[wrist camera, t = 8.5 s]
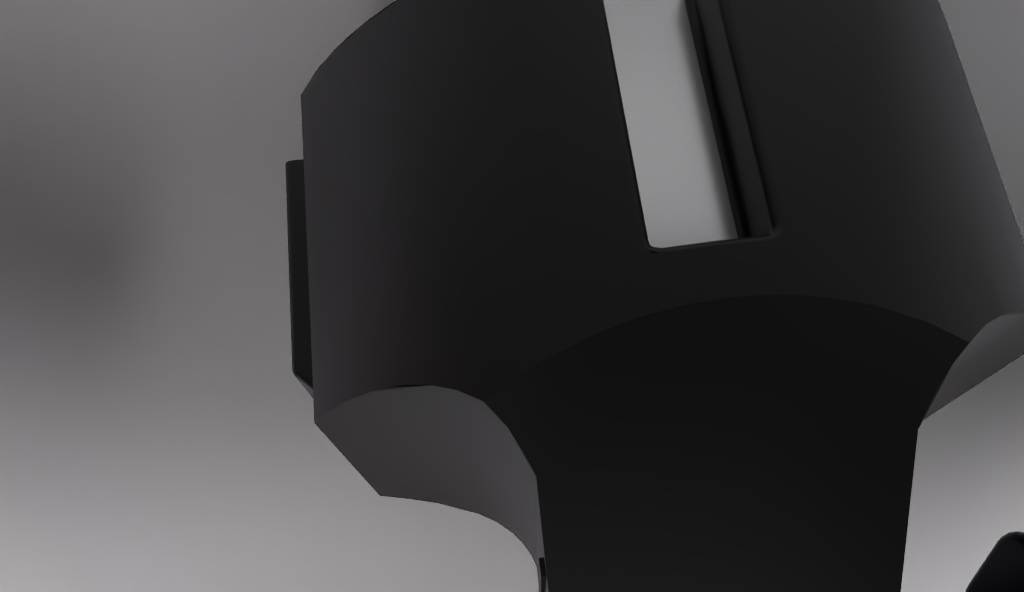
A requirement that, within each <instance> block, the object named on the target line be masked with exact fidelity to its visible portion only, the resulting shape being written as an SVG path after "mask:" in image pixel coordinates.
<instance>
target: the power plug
mask: <svg viewBox="0 0 1024 592" xmlns="http://www.w3.org/2000/svg"><path fill="white" fill-rule="evenodd" d="M301 109H302V133H303V157H304V159H302V160H293V161H288V162H286V193H287V223H288V253H289V283H290V312H291V342H292V371H293V373H294V375H295V376H296V378H297V379H298V380H299V381H300V383H301V384H302V385H303V386H304V387H305V389H306V390H307V391H308V392H309V393H310V395H311V396H312V397H313V398H314V421H315V424H316V425H317V426H318V427H319V428H320V430H321V431H322V432H323V433H324V434H325V435H326V436H327V437H328V438H329V440H330V441H331V442H332V443H333V444H334V445H335V446H336V447H337V448H338V450H339V451H340V452H341V453H342V454H343V455H344V456H345V457H346V458H347V460H348V461H349V462H350V463H351V464H352V465H353V466H354V467H355V468H356V470H357V471H358V472H359V473H360V474H361V475H362V476H363V477H364V478H365V480H366V481H367V482H368V483H369V484H370V485H371V486H372V487H373V488H374V490H375V491H376V492H377V493H378V494H379V495H380V496H388V497H398V498H407V499H415V500H422V501H429V502H435V503H440V504H444V505H448V506H451V507H455V508H459V509H463V510H467V511H471V512H474V513H478V514H481V515H483V516H485V517H488V518H490V519H492V520H494V521H496V522H498V523H499V524H501V525H502V526H504V527H505V528H506V529H508V530H509V531H511V532H512V533H514V534H515V536H516V537H517V538H518V539H519V540H520V541H521V542H522V543H523V544H524V545H525V546H526V548H527V549H528V551H529V552H530V554H531V555H532V557H533V559H534V561H535V563H536V566H537V572H538V583H539V592H901V582H902V573H903V564H904V554H905V545H906V536H907V526H908V517H909V508H910V498H911V489H912V480H913V470H914V461H915V452H916V442H917V433H918V428H919V426H920V425H921V423H922V421H923V420H924V419H925V418H927V417H928V416H930V415H931V414H933V413H934V412H936V411H938V410H939V409H941V408H942V407H944V406H945V405H947V404H948V403H950V402H951V401H953V400H954V399H956V398H957V397H959V396H960V395H962V394H963V393H965V392H966V391H968V390H970V389H971V388H973V387H974V386H976V385H977V384H979V383H980V382H982V381H983V380H985V379H986V378H988V377H989V376H991V375H992V374H994V373H995V372H997V371H998V370H1000V369H1002V368H1003V367H1005V366H1006V365H1008V364H1009V363H1011V362H1012V361H1014V360H1015V359H1017V358H1018V357H1020V356H1021V355H1023V354H1024V243H1023V240H1022V237H1021V234H1020V232H1019V229H1018V226H1017V223H1016V220H1015V217H1014V214H1013V211H1012V209H1011V206H1010V203H1009V200H1008V197H1007V194H1006V191H1005V188H1004V186H1003V183H1002V180H1001V177H1000V174H999V171H998V168H997V165H996V163H995V160H994V157H993V154H992V151H991V148H990V145H989V142H988V140H987V137H986V134H985V131H984V128H983V125H982V122H981V119H980V117H979V114H978V111H977V108H976V105H975V102H974V99H973V96H972V94H971V91H970V88H969V85H968V82H967V79H966V76H965V73H964V71H963V68H962V65H961V62H960V59H959V56H958V53H957V50H956V48H955V45H954V42H953V39H952V36H951V33H950V30H949V27H948V25H947V22H946V19H945V17H944V14H943V12H942V9H941V7H940V4H939V2H938V0H397V1H395V2H394V3H392V4H390V5H389V6H387V7H386V8H384V9H383V10H381V11H380V12H379V13H377V14H376V15H375V16H373V17H372V18H370V19H369V20H368V21H367V22H365V23H364V24H363V25H362V26H361V27H359V28H358V29H357V30H356V31H355V32H353V33H352V34H351V35H350V36H348V37H347V38H346V39H345V40H344V41H343V42H342V43H341V44H340V45H339V46H338V47H337V48H336V49H335V50H334V51H333V52H332V54H331V55H330V56H329V57H328V58H327V59H326V60H325V62H324V63H323V64H322V65H321V66H320V67H319V68H318V70H317V71H316V72H315V74H314V75H313V77H312V79H311V80H310V82H309V83H308V85H307V86H306V88H305V90H304V91H303V93H302V94H301Z"/></svg>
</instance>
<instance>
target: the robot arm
mask: <svg viewBox="0 0 1024 592" xmlns="http://www.w3.org/2000/svg"><path fill="white" fill-rule="evenodd" d="M966 592H1024V532H1010V533H1008V534H1006V535H1004V536H1003V537H1001V538H1000V540H999V541H998V542H997V543H996V545H995V546H994V548H993V549H992V551H991V552H990V554H989V555H988V557H987V558H986V560H985V561H984V563H983V564H982V566H981V567H980V569H979V570H978V572H977V573H976V575H975V576H974V578H973V579H972V581H971V582H970V583H969V585H968V587H967V589H966Z"/></svg>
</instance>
